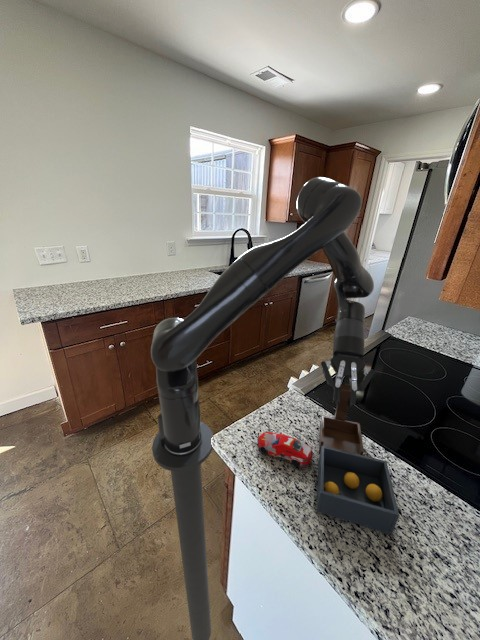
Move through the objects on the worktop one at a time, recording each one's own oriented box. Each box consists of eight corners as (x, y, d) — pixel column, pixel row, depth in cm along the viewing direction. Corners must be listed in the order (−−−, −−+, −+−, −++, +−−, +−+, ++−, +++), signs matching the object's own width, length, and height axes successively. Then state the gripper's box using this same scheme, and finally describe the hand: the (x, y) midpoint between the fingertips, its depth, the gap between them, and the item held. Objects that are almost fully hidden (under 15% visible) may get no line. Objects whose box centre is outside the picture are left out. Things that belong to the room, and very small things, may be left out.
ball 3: (386, 492, 53) (372, 480, 55) (384, 493, 51) (369, 480, 53) (378, 505, 53) (364, 492, 55) (375, 506, 51) (361, 492, 53)
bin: (316, 511, 51) (320, 492, 49) (318, 462, 61) (321, 445, 59) (391, 534, 48) (399, 515, 46) (380, 479, 58) (386, 461, 56)
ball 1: (330, 492, 51) (343, 493, 52) (323, 477, 54) (337, 478, 54) (324, 502, 52) (338, 503, 53) (318, 487, 55) (332, 488, 55)
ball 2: (340, 474, 57) (348, 488, 56) (341, 478, 54) (350, 493, 53) (352, 468, 57) (361, 482, 56) (354, 471, 54) (363, 486, 53)
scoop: (319, 420, 73) (326, 381, 68) (355, 428, 70) (365, 388, 65) (318, 454, 63) (326, 411, 58) (360, 464, 60) (372, 420, 55)
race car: (253, 450, 64) (254, 437, 63) (262, 434, 69) (263, 422, 67) (307, 473, 59) (309, 460, 57) (313, 454, 63) (315, 442, 62)
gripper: (323, 330, 70) (315, 397, 64) (381, 338, 66) (379, 410, 60) (321, 340, 76) (314, 401, 70) (373, 347, 73) (370, 412, 67)
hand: (344, 404), depth 65 cm, fingers closed on scoop, 2 cm apart
